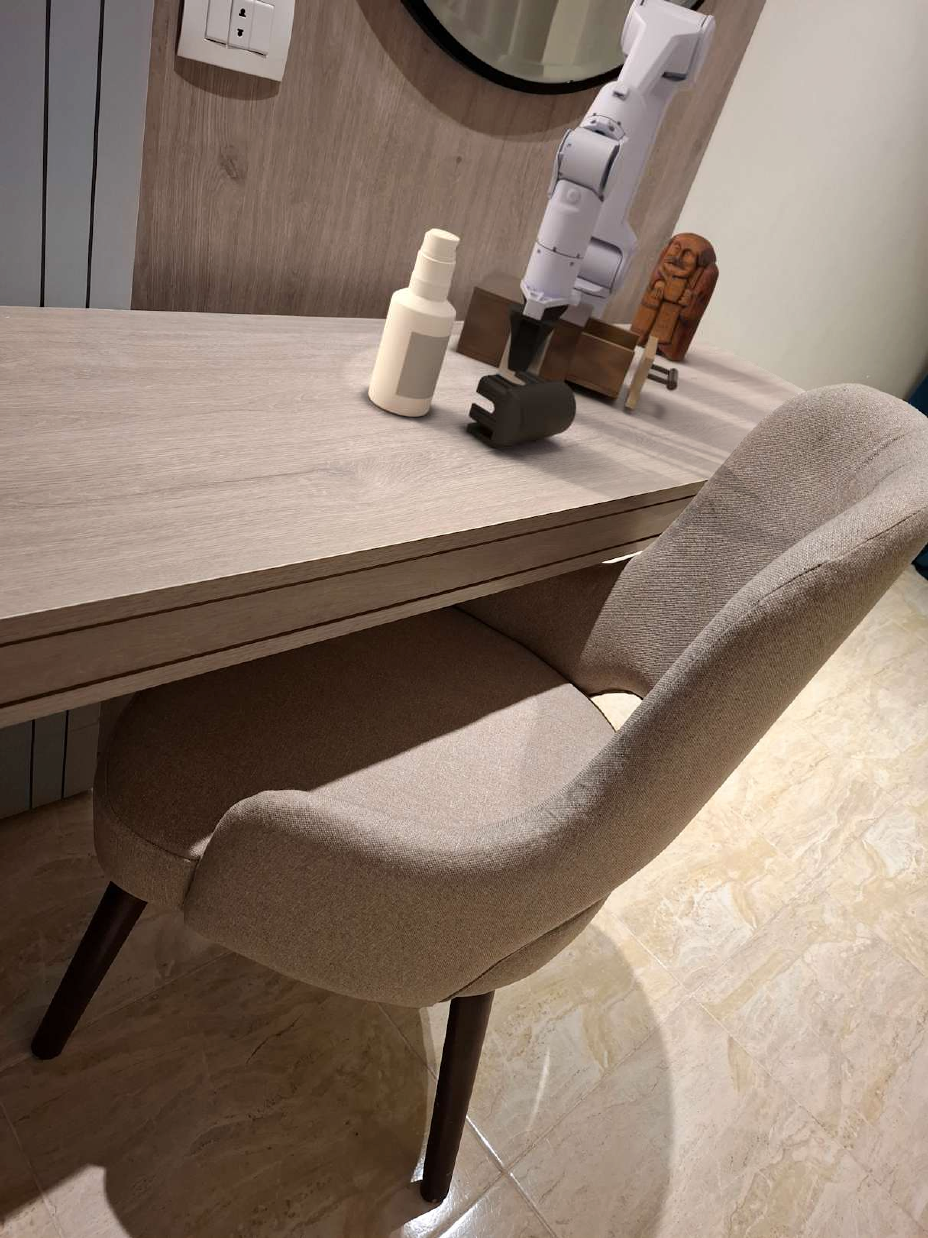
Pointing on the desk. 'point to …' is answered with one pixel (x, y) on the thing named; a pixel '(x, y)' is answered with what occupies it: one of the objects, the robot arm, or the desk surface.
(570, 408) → the end cap
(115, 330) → the desk surface
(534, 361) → the grey rectangular block
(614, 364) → the drawer
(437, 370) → the spray bottle
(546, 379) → the cabinet
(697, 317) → the wooden figurine
